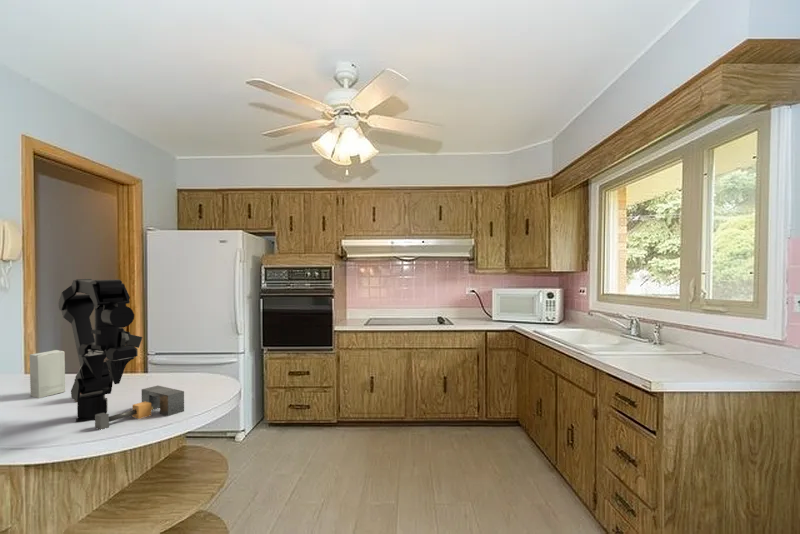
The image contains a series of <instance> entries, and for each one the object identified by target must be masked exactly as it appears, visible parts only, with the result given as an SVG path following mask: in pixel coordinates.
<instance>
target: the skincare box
mask: <svg viewBox="0 0 800 534" xmlns="http://www.w3.org/2000/svg"><path fill="white" fill-rule="evenodd" d="M65 355H66V354H65V351H63V350H58V349H53V350H49V351H43V352H36V353H31V354H29V382H30V383H29V384H30V385H29V386H30V387H29V388H30V396H31V397H33V398H37V399H42V398H46V397H49V396H53V395H56V394H57V395H58V394H62V393H65V392H66V369H65V368H66V361H65V360H66V359H65Z"/></svg>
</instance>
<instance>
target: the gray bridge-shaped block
mask: <svg viewBox="0 0 800 534" xmlns="http://www.w3.org/2000/svg"><path fill="white" fill-rule="evenodd" d="M145 401H146V402H150V403H151V407H153V409H154V410H156V409H157V408H158V409H159V414H160V415H163V416H167V417H170V416H173V415H176V414H179V413H182V412H185V391H184V390H180V389H177V388H171V387H166V386H162V385H154V386H149V387H145V388H141V402H145ZM158 409H157V410H158Z"/></svg>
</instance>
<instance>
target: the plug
mask: <svg viewBox="0 0 800 534" xmlns="http://www.w3.org/2000/svg"><path fill="white" fill-rule="evenodd" d="M152 411H153V407H151V403H150V402H146V401H145V402H142V401H141V402H138V403H134V404H132V410H128V411H125V412H120V413H117V414H114V415H110V414H109V413H100V414H96V415H95V419H94V428H95V429H96V428H98V429H97V430H99V429H100V430H99V431H102V430H105V428H106V429H109V428H110V422H113V421H114V422H115V421H117V420H121V419H124V418H128V417H130V416H132V418H134V417H135V419H137V418H138V419H137V420H140V419H143V418H146V416H147V417H150V416H152ZM149 415H150V416H149ZM101 429H102V430H101Z"/></svg>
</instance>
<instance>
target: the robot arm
mask: <svg viewBox="0 0 800 534" xmlns="http://www.w3.org/2000/svg"><path fill="white" fill-rule="evenodd" d="M77 293H79V294H77ZM80 293H81V294H80ZM130 299H131V295H130V294H129V292H128V290H127V287H126V286H125V284H124V283H123V281H122V279H92V278H87V279H86V278H77V279H74V280H73V281H72V282H71V285H69V286H68V287H67V288H66V289H64V290H63V291H62V292H61V294H60V296H59V300H58V310H59V311H61V314H62V318H63V319H65V321H67V322H69V324H71V327H72V328H71V329H72V333H73V338H74V343H75V347H76V348H75V349H76V352H77V357H78V358H77V359H78V362H79V369H78V371H77V372H76V375H75V378H74V382H73V385H72V387H71V389H70V394H71V395H70V396H71V399H73V400H74V401H75V400H76V401H77V402H76V403H77V405H76V406H77V408H76V409H77V410H76V411H77V412H76V413H77V414H76V415H77V418H76V420H75V422H77V423H78V422H85V421H92V420H95V415H96V414H100V413H106V414H108V397H106V395H109V394H112V390H113V389H112V388H113V384H114V385H120V383H121V380H122V377H123V374H124V371H125V368H126V366H127V365H128V364H129V362H131V361H133V360H134V359H135V358H136V357H138V352H139V351H138V349H139V348H140V345H141V343H142V341H143V339H144V338H143V336H140V335H135V334H131V332H130V331H128V330H127V331H126V330H125V328H126V327H129V326H130V325H131V324H132V323H133V321H134V319H135V313H134V311H133V309H132V308H130V306H127V304H130V303H131V301H130ZM93 312H94V329H93V327H92V323H91V315H92V314H93ZM105 359H106V360H105ZM80 393H81V394H80Z"/></svg>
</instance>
